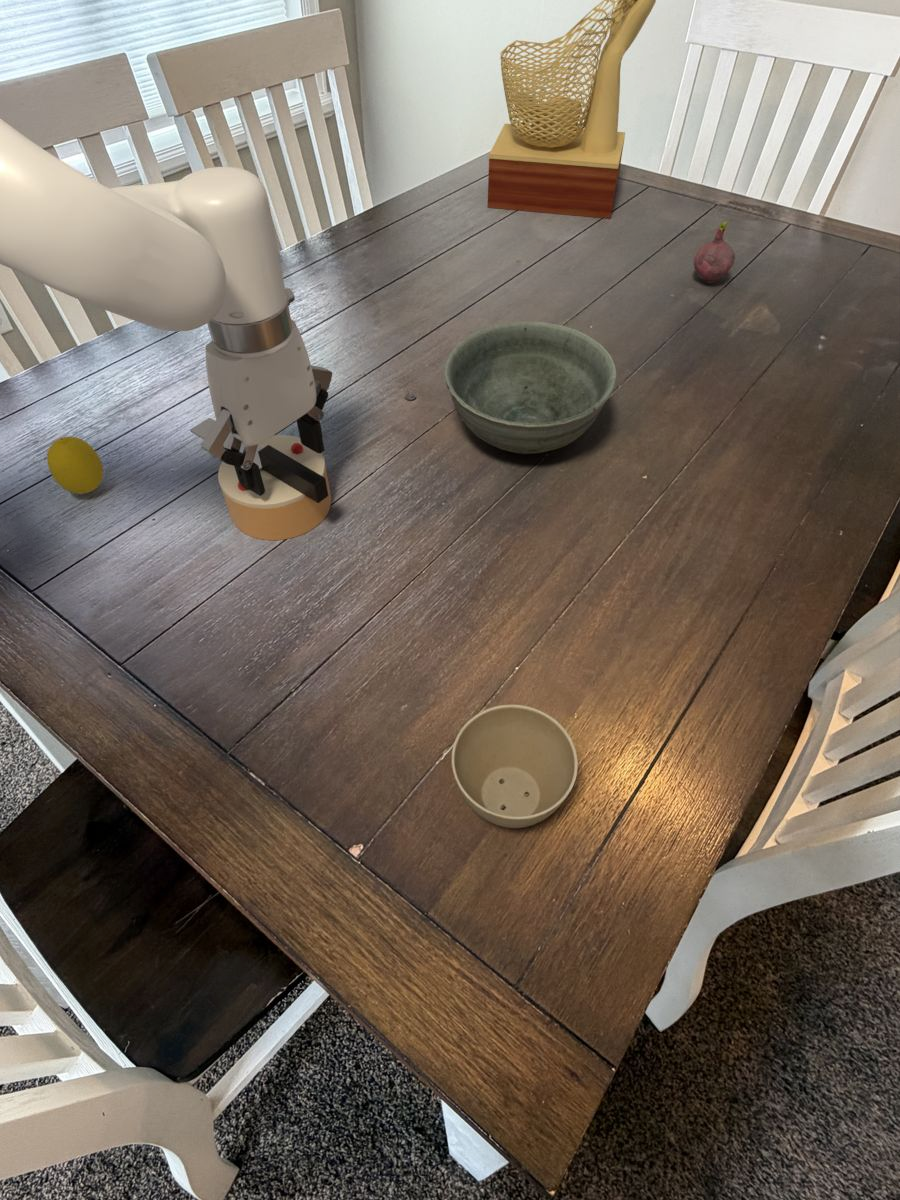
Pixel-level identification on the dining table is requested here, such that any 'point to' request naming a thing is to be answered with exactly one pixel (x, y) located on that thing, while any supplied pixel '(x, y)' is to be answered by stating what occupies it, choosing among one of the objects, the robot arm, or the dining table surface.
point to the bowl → (529, 384)
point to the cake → (275, 496)
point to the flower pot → (514, 765)
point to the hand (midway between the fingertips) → (284, 467)
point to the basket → (565, 121)
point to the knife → (279, 466)
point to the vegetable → (714, 258)
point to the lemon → (75, 465)
